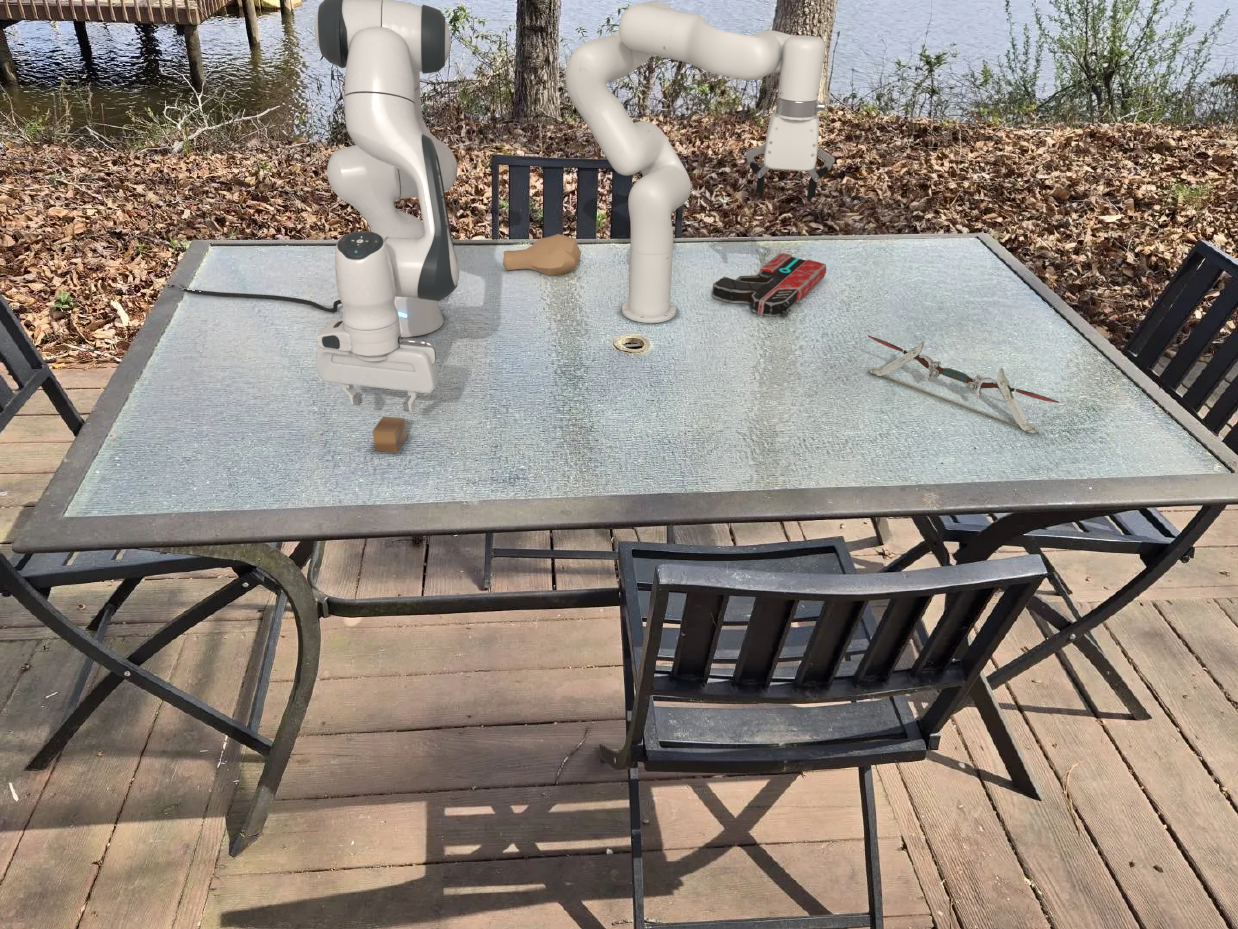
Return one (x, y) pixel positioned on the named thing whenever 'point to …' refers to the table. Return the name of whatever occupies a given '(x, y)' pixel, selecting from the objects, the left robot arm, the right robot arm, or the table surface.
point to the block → (389, 434)
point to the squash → (546, 256)
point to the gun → (772, 285)
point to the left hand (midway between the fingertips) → (383, 406)
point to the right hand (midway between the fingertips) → (784, 197)
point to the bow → (972, 384)
